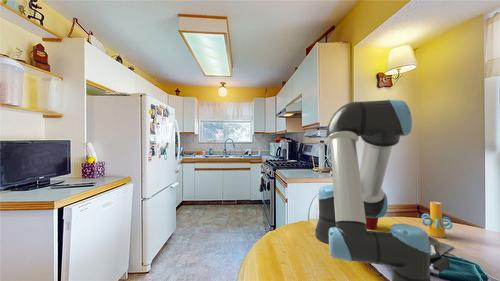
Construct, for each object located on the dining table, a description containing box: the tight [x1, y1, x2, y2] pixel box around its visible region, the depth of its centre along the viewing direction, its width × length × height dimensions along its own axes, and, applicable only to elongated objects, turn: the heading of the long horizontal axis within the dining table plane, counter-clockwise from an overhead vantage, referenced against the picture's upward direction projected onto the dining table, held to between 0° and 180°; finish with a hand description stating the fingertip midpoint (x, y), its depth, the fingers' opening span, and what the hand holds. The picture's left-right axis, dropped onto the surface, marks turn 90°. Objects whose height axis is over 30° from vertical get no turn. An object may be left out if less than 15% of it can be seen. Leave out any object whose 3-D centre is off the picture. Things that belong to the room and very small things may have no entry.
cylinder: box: [421, 201, 453, 239], centre depth 99 cm, size 12×10×15 cm
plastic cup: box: [365, 217, 379, 231], centre depth 108 cm, size 11×11×12 cm
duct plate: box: [428, 235, 454, 254], centre depth 90 cm, size 16×16×3 cm
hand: (407, 243), depth 77 cm, fingers open, 13 cm apart
